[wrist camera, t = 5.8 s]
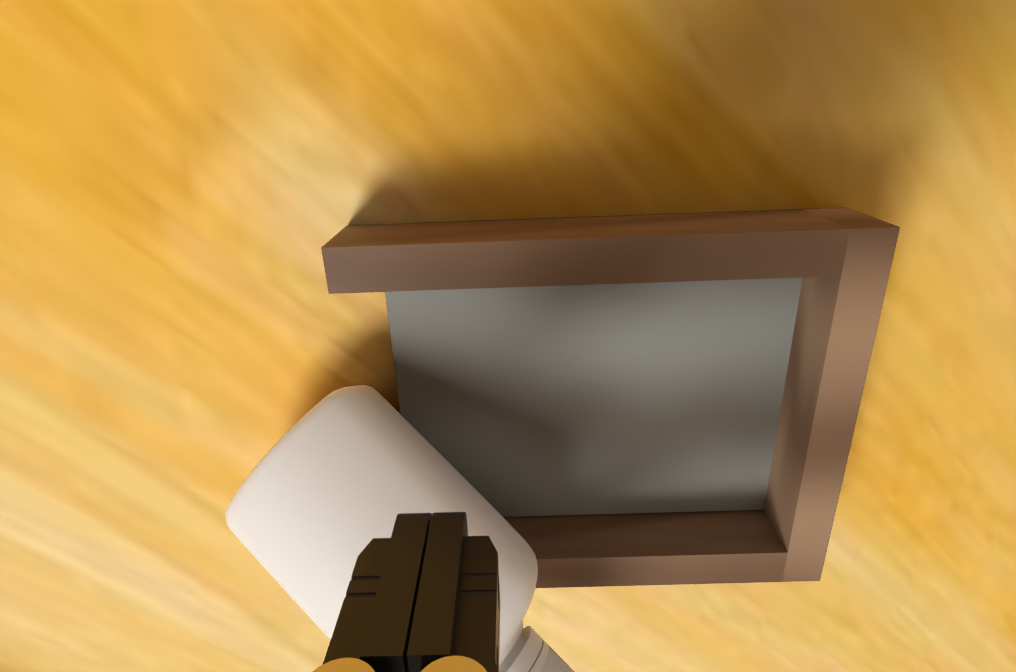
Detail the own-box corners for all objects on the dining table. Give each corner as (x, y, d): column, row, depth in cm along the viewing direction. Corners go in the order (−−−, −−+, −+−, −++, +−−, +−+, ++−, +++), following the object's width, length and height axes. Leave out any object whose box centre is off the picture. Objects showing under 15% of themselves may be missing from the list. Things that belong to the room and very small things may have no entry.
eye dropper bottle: (366, 403, 21) (619, 657, 19) (231, 522, 19) (505, 823, 17) (363, 359, 17) (680, 674, 15) (191, 504, 15) (543, 892, 13)
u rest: (346, 225, 17) (321, 248, 15) (845, 207, 17) (899, 227, 14) (392, 537, 21) (378, 591, 19) (786, 526, 21) (820, 580, 19)
